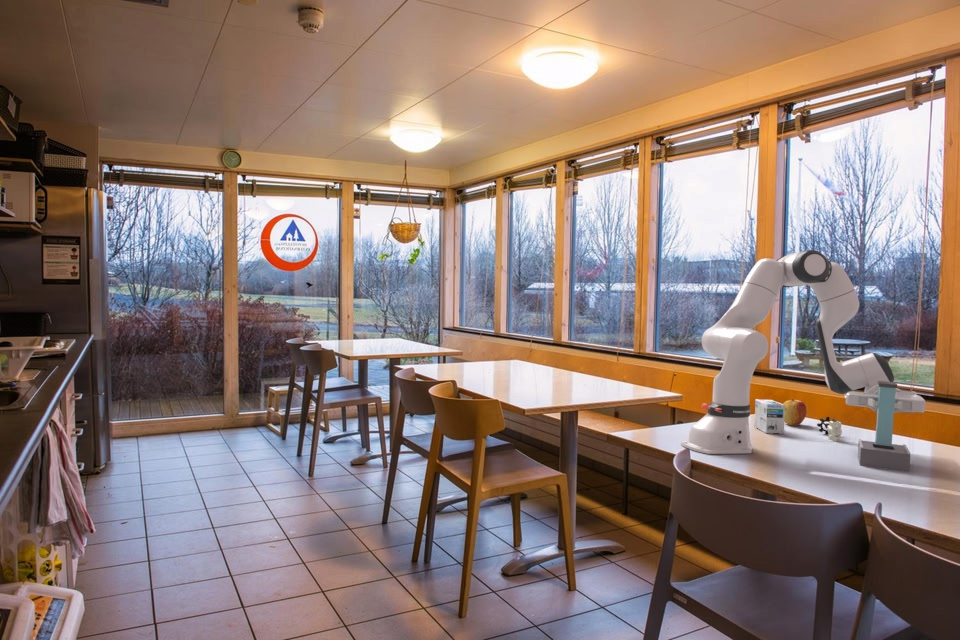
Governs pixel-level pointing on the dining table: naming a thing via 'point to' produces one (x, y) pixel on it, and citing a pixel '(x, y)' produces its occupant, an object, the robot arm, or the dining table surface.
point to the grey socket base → (884, 456)
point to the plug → (885, 412)
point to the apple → (794, 412)
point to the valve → (831, 428)
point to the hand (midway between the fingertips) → (886, 405)
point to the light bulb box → (769, 416)
